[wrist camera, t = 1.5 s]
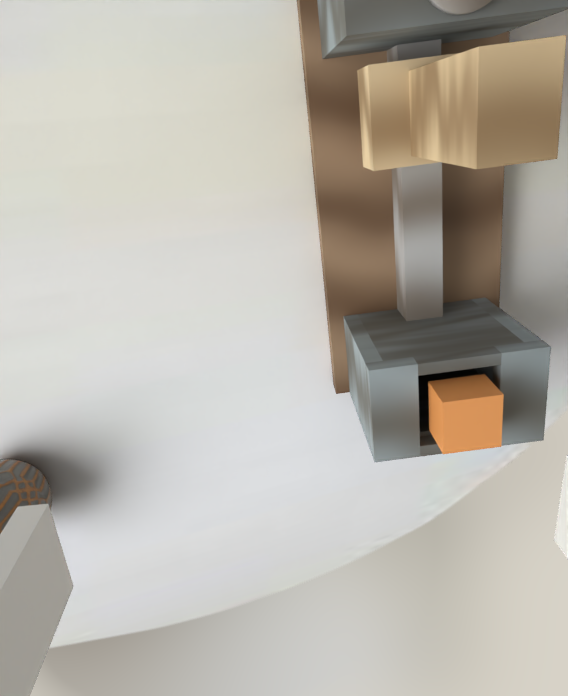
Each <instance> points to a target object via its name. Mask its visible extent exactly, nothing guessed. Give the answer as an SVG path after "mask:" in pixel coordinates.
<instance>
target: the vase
mask: <svg viewBox="0 0 568 696" xmlns="http://www.w3.org/2000/svg"><path fill="white" fill-rule="evenodd" d="M51 503H52V496H51V490H50V486H49V484H48V482H47V480H46V478H45V477H44V475H43V474H42V473H41V472H40V471H39V470H38V469H37V468H35V467H34V466H32V465H30V464H28V463H26V462H23V461H19V460H12V459H6V460H0V534H1V532H2V531H3V529H4V528H5V526H6V524H7V523H8V521H9V520H10V518H11V516H12V515H13V513H14V512H15V510H16V508H17V507H19V506H29V505H40V504H49V508H50V511H51Z"/></svg>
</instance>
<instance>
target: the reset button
mask: <svg viewBox="0 0 568 696" xmlns="http://www.w3.org/2000/svg"><path fill="white" fill-rule="evenodd" d="M428 394H429V431H430V432H431V434H432V436H433V438H434V439H435V441H436V443H437V445H438V446H439V448H440V450H441V452H442V453H443V454H448V453H455V452H463V451H471V450H478V449H486V448H493V447H501V444H502V421H503V397H504V394H503V393H502V392H501V391H500V390H499V389H498V388H497V387H496V386H495V385H494V384H493V383H492V381H491V380H490V379H489V378H488V377H487V376H486V375H485V374H481V375H473V376H465V377H458V378H450V379H443V380H435V381H428Z"/></svg>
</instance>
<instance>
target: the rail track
mask: <svg viewBox="0 0 568 696" xmlns="http://www.w3.org/2000/svg"><path fill="white" fill-rule="evenodd" d="M297 6H298V17H299V27H300V38H301V48H302V59H303V69H304V80H305V90H306V100H307V111H308V121H309V132H310V142H311V153H312V163H313V174H314V184H315V195H316V205H317V216H318V226H319V237H320V247H321V258H322V268H323V279H324V289H325V300H326V310H327V321H328V331H329V341H330V352H331V362H332V373H333V383H334V388H335V391H336V394H338V393H346V392H350V394H351V397H352V400H353V403H354V405H355V408H356V411H357V414H358V417H359V420H360V422H361V425H362V428H363V431H364V434H365V436H366V439H367V442H368V445H369V448H370V450H371V453H372V456H373V459H374V462H381V461H389V460H397V459H404V458H412V457H419V456H427V455H435V454H442V452H441V450H440V448H439V446H438V445H437V443H436V441H435V439H434V438H433V436H432V434H431V432H430V431H429V394H428V381H435V380H443V379H450V378H458V377H465V376H473V375H481V374H485V375H486V376H487V377H488V378H489V379H490V380H491V381H492V383H493V384H494V385H495V386H496V387H497V388H498V389H499V390H500V391H501V392H502V393H503V394H504V397H503V421H502V444H501V446H503V445H510V444H518V443H526V442H533V441H541V440H543V439H544V427H545V414H546V402H547V389H548V376H549V364H550V351H551V346H549V345H548V344H547V343H545V342H544V341H543V340H541V339H540V338H539V337H537V336H536V335H535V334H533V333H532V332H531V331H529V330H528V329H527V328H525V327H524V326H523V325H521V324H520V323H519V322H517V321H516V320H515V319H513V318H512V317H511V316H509V315H508V314H507V313H505V312H504V311H503V310H501V309H500V308H499V296H500V269H501V241H502V214H503V187H504V166H498V167H490V168H483V169H472V168H468V167H463V166H458V165H453V164H448V163H443V162H438V163H431V164H423V165H416V166H408V167H400V168H393V169H385V170H378V171H372V170H370V169H367V168H365V167H363V157H362V140H361V124H360V107H359V91H358V74H357V70H359V69H361V68H363V67H365V66H367V65H371V64H379V63H387V62H394V61H402V60H409V59H417V58H424V57H432V56H440V55H447V54H455V53H462V52H465V51H468V50H470V49H473V48H476V47H480V46H487V45H495V44H502V43H509V30H512V29H515V28H518V27H520V26H523V25H526V24H528V23H531V22H534V21H537V20H539V19H542V18H545V17H547V16H550V15H553V14H555V13H558V12H561V11H564V10H566V9H568V0H297Z"/></svg>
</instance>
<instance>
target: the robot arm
mask: <svg viewBox="0 0 568 696" xmlns="http://www.w3.org/2000/svg"><path fill="white" fill-rule="evenodd" d="M554 541H555V542H556V543H557V545H558V546H559V548H560V549H561V550H562V552H563V553H564V555H565V556H566V557H567V559H568V455H567V456H566V463H565V469H564V476H563V483H562V490H561V497H560V503H559V510H558V517H557V524H556V531H555V538H554ZM72 589H73V583H72V580H71V577H70V573H69V570H68V567H67V563H66V560H65V557H64V554H63V550H62V547H61V544H60V540H59V537H58V534H57V531H56V527H55V524H54V521H53V517H52V514H51V511H50V508H49V504H40V505H29V506H19V507H17V508H16V510H15V512H14V513H13V515H12V516H11V518H10V520H9V521H8V523H7V524H6V526H5V528H4V529H3V531H2V532H1V534H0V696H30V694H31V692H32V689H33V687H34V684H35V681H36V679H37V677H38V674H39V672H40V669H41V667H42V664H43V662H44V659H45V657H46V654H47V651H48V649H49V646H50V644H51V641H52V639H53V636H54V634H55V631H56V629H57V626H58V624H59V621H60V619H61V616H62V614H63V611H64V609H65V606H66V604H67V601H68V599H69V596H70V594H71V591H72Z"/></svg>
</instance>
